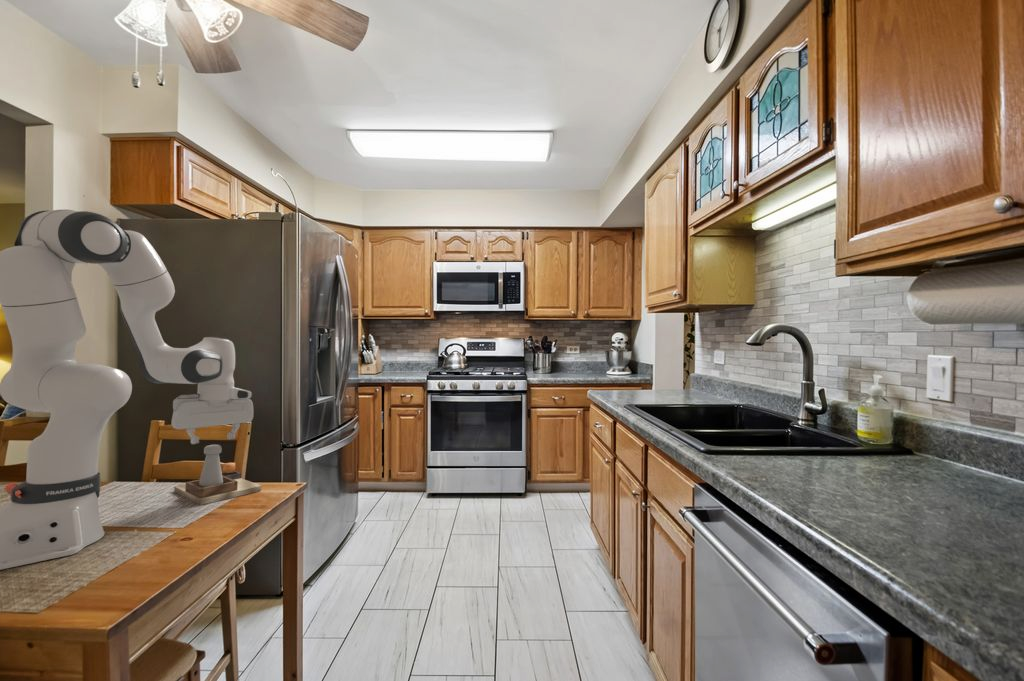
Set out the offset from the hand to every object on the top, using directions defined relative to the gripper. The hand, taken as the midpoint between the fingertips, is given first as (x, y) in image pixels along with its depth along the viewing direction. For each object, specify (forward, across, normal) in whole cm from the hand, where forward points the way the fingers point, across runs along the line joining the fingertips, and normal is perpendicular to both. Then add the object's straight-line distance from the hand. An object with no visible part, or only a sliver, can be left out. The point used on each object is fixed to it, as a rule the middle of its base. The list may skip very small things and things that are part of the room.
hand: (213, 441), depth 130 cm
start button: (+12, +9, +9) cm, 18 cm away
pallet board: (+16, +3, +3) cm, 16 cm away
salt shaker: (+14, 0, 0) cm, 14 cm away
